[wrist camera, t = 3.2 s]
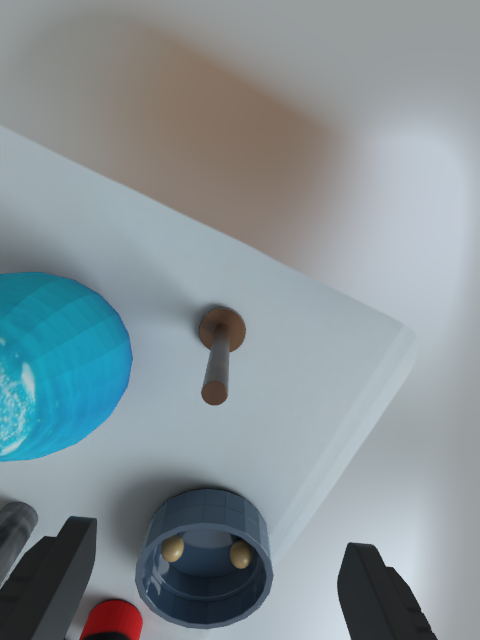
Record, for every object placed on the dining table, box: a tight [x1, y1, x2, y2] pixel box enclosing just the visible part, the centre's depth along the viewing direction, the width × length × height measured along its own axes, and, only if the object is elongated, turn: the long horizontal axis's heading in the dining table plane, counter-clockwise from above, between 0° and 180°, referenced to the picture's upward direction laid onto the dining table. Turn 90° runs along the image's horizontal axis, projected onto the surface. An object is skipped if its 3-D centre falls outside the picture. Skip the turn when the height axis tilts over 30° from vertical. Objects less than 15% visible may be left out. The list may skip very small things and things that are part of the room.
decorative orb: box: [0, 272, 133, 462], centre depth 24 cm, size 15×15×15 cm
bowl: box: [135, 489, 273, 629], centre depth 36 cm, size 16×16×5 cm
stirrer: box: [199, 307, 246, 405], centre depth 25 cm, size 5×5×15 cm
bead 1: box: [161, 534, 184, 562], centre depth 36 cm, size 3×3×3 cm
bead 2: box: [230, 540, 252, 569], centre depth 36 cm, size 3×3×3 cm
